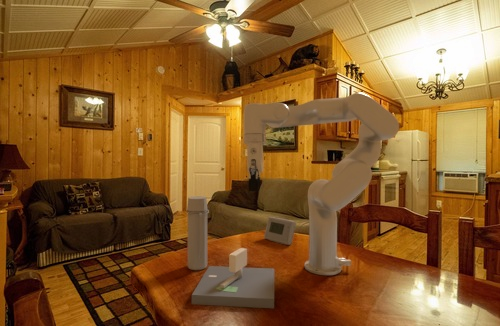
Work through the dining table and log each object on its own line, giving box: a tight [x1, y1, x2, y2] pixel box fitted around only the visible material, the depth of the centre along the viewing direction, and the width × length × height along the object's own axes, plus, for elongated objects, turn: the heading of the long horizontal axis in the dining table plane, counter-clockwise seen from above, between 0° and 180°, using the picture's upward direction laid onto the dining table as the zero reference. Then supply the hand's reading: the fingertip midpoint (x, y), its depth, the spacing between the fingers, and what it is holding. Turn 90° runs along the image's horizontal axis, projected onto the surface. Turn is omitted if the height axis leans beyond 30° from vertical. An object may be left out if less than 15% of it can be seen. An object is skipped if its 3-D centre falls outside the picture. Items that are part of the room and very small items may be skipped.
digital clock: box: [263, 216, 297, 246], centre depth 131 cm, size 16×9×11 cm, turn 34°
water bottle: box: [185, 195, 210, 271], centre depth 99 cm, size 9×8×25 cm
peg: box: [220, 247, 248, 288], centre depth 83 cm, size 12×2×8 cm, turn 152°
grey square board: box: [191, 265, 275, 309], centre depth 83 cm, size 22×20×3 cm
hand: (254, 189), depth 97 cm, fingers open, 9 cm apart
